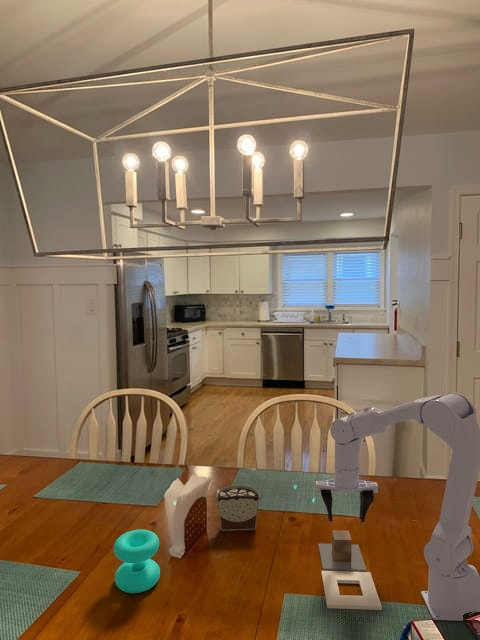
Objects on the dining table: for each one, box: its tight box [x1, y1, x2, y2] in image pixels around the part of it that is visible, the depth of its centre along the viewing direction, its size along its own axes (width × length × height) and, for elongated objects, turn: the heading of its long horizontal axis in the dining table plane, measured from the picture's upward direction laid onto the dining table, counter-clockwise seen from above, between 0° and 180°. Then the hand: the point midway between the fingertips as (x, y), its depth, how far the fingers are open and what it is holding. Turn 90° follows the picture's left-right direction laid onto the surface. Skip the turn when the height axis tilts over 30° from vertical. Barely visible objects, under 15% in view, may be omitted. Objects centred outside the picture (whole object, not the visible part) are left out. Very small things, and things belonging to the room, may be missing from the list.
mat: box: [317, 543, 367, 572], centre depth 113 cm, size 10×10×1 cm
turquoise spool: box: [113, 529, 161, 594], centre depth 105 cm, size 10×10×10 cm
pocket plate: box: [321, 570, 383, 611], centre depth 101 cm, size 11×11×1 cm
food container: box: [215, 484, 262, 532], centre depth 128 cm, size 12×6×10 cm, turn 92°
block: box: [331, 529, 353, 562], centre depth 113 cm, size 4×4×6 cm
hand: (346, 519), depth 113 cm, fingers open, 7 cm apart
